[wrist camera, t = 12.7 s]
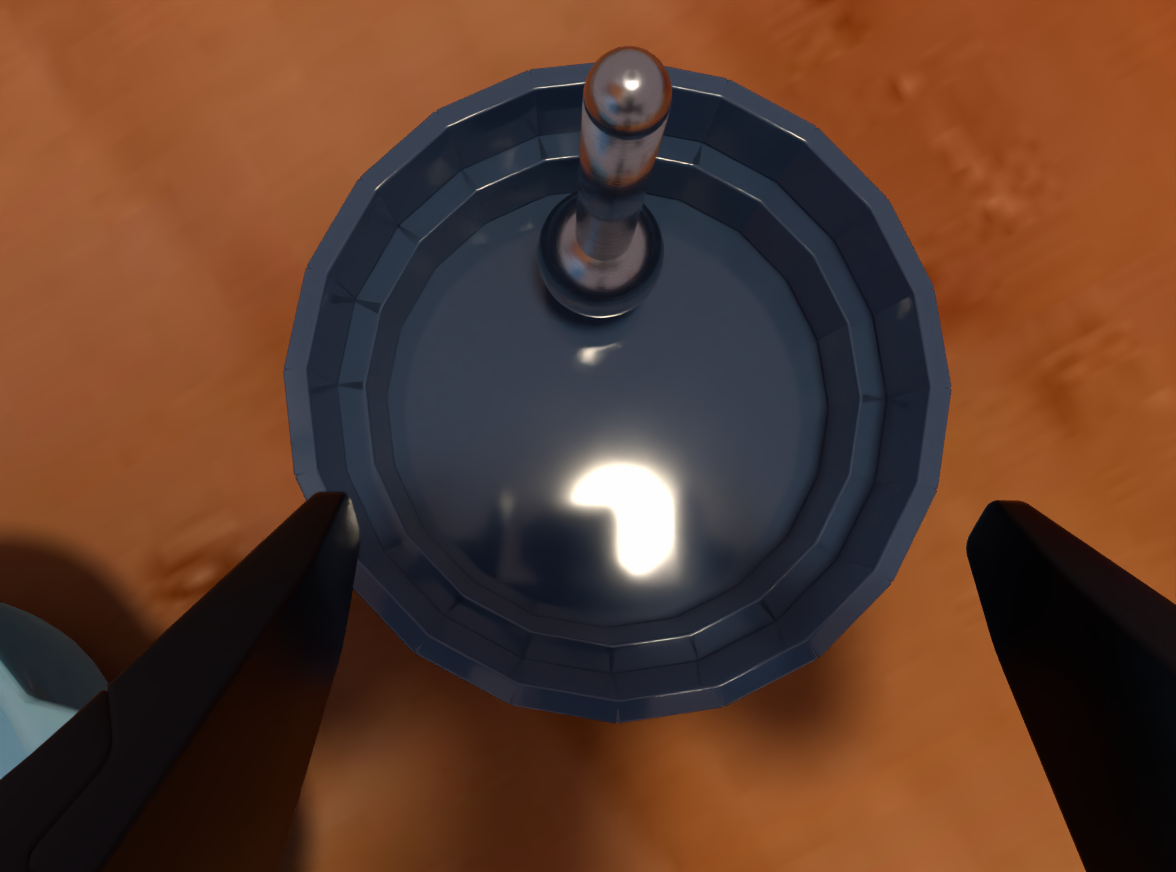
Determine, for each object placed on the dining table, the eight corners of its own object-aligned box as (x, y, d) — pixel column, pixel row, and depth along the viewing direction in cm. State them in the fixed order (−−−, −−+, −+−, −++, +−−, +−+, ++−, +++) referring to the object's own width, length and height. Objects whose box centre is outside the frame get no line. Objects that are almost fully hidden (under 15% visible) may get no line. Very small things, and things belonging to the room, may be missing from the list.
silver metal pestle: (661, 324, 22) (757, 169, 12) (545, 336, 22) (530, 189, 11) (647, 212, 23) (729, -45, 12) (533, 222, 23) (507, -29, 12)
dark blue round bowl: (485, 756, 22) (462, 844, 17) (267, 284, 23) (177, 221, 18) (945, 522, 24) (1062, 533, 18) (721, 82, 24) (767, -36, 19)
